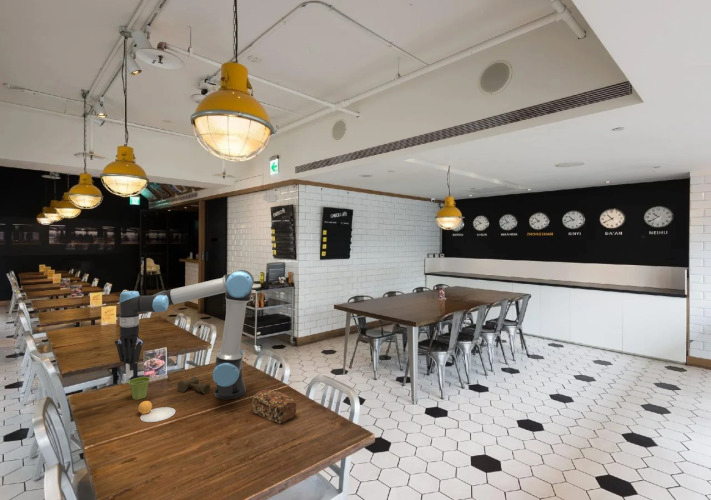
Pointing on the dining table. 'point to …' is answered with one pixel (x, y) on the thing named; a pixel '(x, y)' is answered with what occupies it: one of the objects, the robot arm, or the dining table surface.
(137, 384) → the plant pot
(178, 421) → the dining table surface
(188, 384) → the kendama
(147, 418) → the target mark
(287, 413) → the bread
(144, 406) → the ball
